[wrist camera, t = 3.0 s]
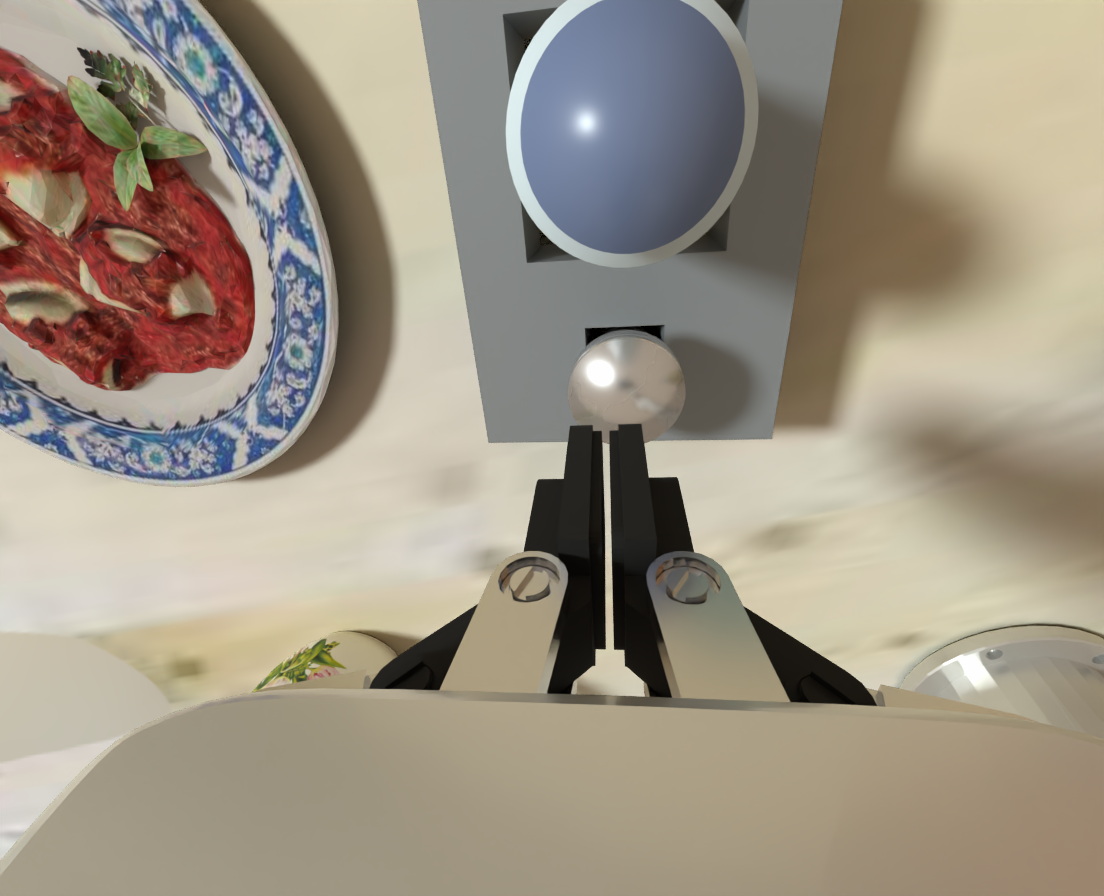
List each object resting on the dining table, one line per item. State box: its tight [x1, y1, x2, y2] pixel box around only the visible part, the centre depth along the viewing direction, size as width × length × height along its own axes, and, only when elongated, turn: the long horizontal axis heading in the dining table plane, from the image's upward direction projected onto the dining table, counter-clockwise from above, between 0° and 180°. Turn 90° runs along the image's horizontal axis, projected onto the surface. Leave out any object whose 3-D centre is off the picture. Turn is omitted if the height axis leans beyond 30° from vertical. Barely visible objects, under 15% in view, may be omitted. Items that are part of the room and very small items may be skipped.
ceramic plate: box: [0, 0, 339, 487], centre depth 23 cm, size 26×26×3 cm
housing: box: [417, 0, 843, 443], centre depth 19 cm, size 16×12×4 cm
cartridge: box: [506, 0, 759, 268], centre depth 14 cm, size 5×5×12 cm
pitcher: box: [253, 631, 397, 692], centre depth 32 cm, size 11×18×14 cm, turn 108°
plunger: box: [568, 326, 686, 444], centre depth 19 cm, size 4×4×4 cm
